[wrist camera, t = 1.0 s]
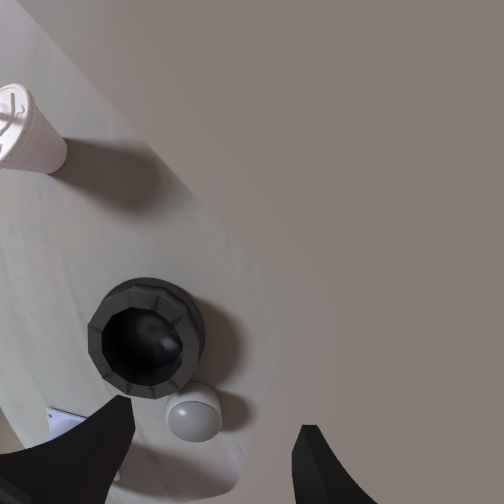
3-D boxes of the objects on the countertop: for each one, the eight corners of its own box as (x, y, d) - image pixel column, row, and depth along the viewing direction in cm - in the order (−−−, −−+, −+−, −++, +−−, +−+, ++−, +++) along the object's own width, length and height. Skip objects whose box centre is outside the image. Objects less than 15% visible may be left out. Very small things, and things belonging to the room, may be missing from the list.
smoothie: (91, 134, 23) (15, 60, 9) (61, 197, 22) (-40, 169, 9) (45, 117, 22) (-33, 54, 8) (17, 175, 21) (-78, 143, 8)
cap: (217, 424, 26) (220, 445, 23) (168, 420, 25) (165, 440, 22) (221, 384, 26) (224, 403, 22) (169, 379, 25) (165, 397, 22)
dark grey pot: (200, 387, 25) (200, 409, 22) (98, 372, 24) (85, 391, 20) (210, 284, 25) (211, 293, 21) (99, 270, 23) (82, 276, 20)
